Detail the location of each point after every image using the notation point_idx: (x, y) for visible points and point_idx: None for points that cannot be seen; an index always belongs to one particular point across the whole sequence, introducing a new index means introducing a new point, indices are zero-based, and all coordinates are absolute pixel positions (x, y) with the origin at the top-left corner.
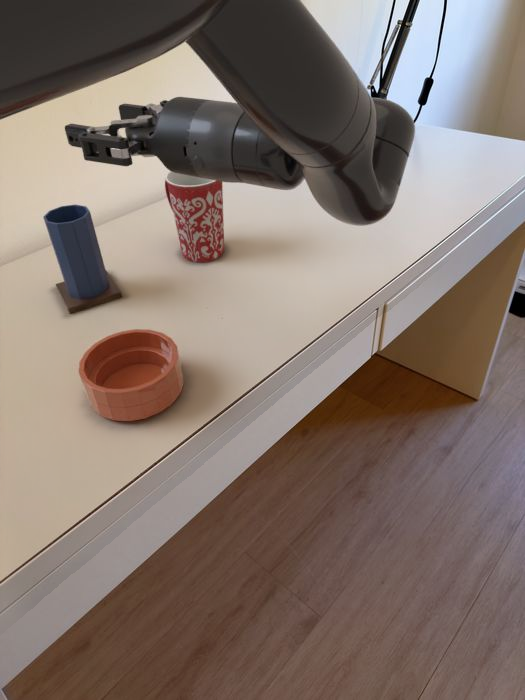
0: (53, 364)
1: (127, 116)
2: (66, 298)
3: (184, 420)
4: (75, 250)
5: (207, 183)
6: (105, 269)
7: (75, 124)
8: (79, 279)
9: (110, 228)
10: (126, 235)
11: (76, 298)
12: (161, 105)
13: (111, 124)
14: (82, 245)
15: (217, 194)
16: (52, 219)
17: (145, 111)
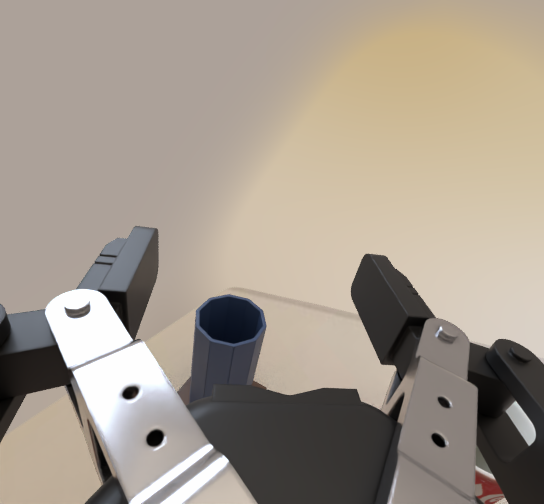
0: (24, 494)
1: (365, 292)
2: (183, 390)
3: None
4: (202, 369)
5: (489, 476)
6: (265, 388)
7: (148, 240)
8: (194, 395)
9: (343, 328)
10: (346, 353)
11: (188, 403)
12: (493, 358)
13: (74, 373)
14: (212, 371)
15: (497, 496)
16: (225, 305)
17: (412, 334)
